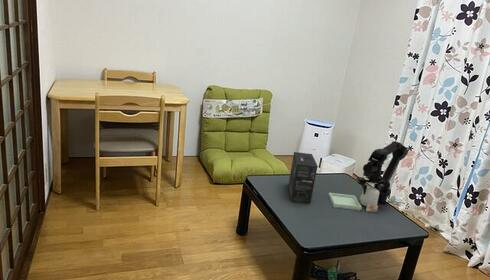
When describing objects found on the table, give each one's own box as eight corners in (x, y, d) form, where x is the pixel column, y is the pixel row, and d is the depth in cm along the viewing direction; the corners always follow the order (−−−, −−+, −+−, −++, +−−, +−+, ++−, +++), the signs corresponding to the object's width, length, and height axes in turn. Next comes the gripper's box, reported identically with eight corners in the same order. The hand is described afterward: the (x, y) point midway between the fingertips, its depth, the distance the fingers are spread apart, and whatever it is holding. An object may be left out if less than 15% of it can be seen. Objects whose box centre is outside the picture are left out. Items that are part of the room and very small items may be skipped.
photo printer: (358, 203, 231) (362, 184, 227) (362, 201, 233) (366, 183, 230) (373, 210, 223) (377, 191, 220) (377, 208, 226) (381, 189, 223)
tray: (353, 199, 236) (354, 195, 235) (361, 210, 220) (361, 206, 220) (328, 196, 235) (329, 192, 235) (334, 207, 220) (334, 203, 219)
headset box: (311, 203, 221) (318, 162, 214) (290, 201, 221) (297, 159, 214) (305, 188, 243) (312, 150, 236) (287, 186, 243) (293, 148, 236)
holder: (368, 201, 235) (370, 196, 234) (376, 211, 221) (377, 206, 220) (359, 200, 235) (360, 195, 234) (366, 210, 221) (367, 205, 220)
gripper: (386, 168, 230) (380, 191, 234) (356, 164, 230) (351, 188, 234) (393, 174, 219) (387, 199, 224) (361, 171, 219) (356, 195, 223)
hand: (370, 195), depth 226 cm, fingers closed on photo printer, 7 cm apart
